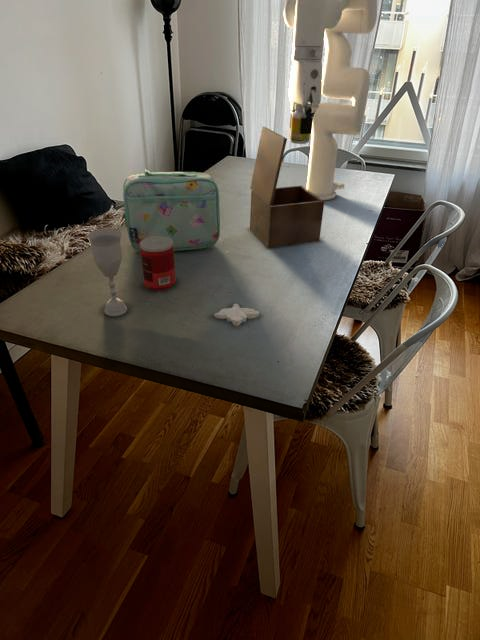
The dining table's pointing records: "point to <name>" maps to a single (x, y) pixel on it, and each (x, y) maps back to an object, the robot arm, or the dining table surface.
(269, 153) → the lid
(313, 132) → the robot arm
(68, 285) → the dining table surface
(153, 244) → the canned food
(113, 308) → the chalice
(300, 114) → the supplement bottle
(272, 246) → the chest
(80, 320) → the dining table surface
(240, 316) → the acanthus leaf ornament
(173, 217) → the lunch box
